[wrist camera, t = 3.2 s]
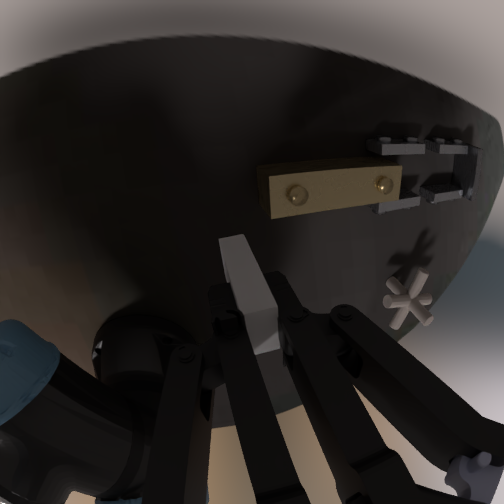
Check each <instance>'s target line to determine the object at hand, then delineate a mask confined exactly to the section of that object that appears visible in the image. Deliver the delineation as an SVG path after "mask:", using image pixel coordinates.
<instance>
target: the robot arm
mask: <svg viewBox="0 0 504 504" xmlns="http://www.w3.org/2000/svg"><path fill="white" fill-rule="evenodd" d="M219 245H220V250H221V256H222V261H223V267H224V272H225V277H226V281H227V283H224V284H219V285H215V286H211V287H210V290H209V292H208V297H209V302H210V307H211V313H212V326H213V330H214V334H213V336H212V337H211V338H210V339H209V340H208V341H207V342H205V343H204V344H202V345H200V346H197V345H196V342H195V341H194V339H193V338H192V337H191V335H190V334H189V333H188V332H187V331H185V330H184V329H183V328H181V327H180V326H178V325H176V324H174V323H172V322H170V321H167V320H164V319H161V318H157V317H152V316H143V315H133V316H125V317H121V318H117V319H114V320H112V321H110V322H108V323H107V324H105V325H104V326H103V327H102V328H101V329H100V330H99V331H98V332H97V334H96V336H95V339H94V344H93V349H92V362H93V367H94V372H95V376H96V378H95V377H93V376H92V375H90V374H89V373H87V372H86V371H85V370H83V369H82V368H80V367H79V366H78V365H76V364H75V363H74V362H72V361H71V360H70V359H68V358H67V357H66V356H64V355H63V354H62V353H60V351H59V350H58V348H57V347H56V346H55V345H54V344H53V343H51V342H47V341H45V340H44V339H42V338H41V337H40V336H39V335H37V334H36V333H35V332H34V331H32V330H31V329H30V328H29V327H27V326H26V325H25V324H23V323H22V322H20V321H17V320H13V319H10V320H4V321H2V322H0V504H65V502H66V500H67V498H68V496H69V494H70V493H71V492H72V491H77V492H80V493H83V494H86V495H90V496H93V497H96V499H95V504H208V502H209V494H208V485H207V480H208V466H209V453H210V441H211V429H212V418H213V407H214V396H215V388H216V387H218V386H220V385H222V384H224V383H226V388H227V392H228V396H229V400H230V405H231V409H232V413H233V417H234V421H235V425H236V429H237V432H238V436H239V440H240V444H241V448H242V451H243V455H244V459H245V462H246V466H247V469H248V473H249V477H250V480H251V483H252V487H253V490H254V494H255V498H256V503H257V504H311V503H310V501H309V498H308V496H307V494H306V492H305V490H304V488H303V486H302V485H301V483H300V481H299V478H298V475H297V473H296V470H295V467H294V465H293V462H292V460H291V457H290V454H289V451H288V449H287V446H286V443H285V441H284V438H283V435H282V432H281V429H280V426H279V424H278V421H277V418H276V415H275V412H274V409H273V407H272V404H271V401H270V398H269V395H268V392H267V389H266V386H265V383H264V380H263V377H262V374H261V372H260V369H259V366H258V363H257V360H256V357H255V355H256V354H260V353H264V352H268V351H272V350H276V349H279V348H280V344H281V346H282V349H283V365H284V366H286V365H287V367H288V370H289V372H290V374H291V377H292V379H293V382H294V384H295V386H296V389H297V391H298V394H299V396H300V398H301V401H302V403H303V406H304V408H305V410H306V413H307V415H308V418H309V420H310V422H311V425H312V427H313V429H314V432H315V434H316V436H317V439H318V441H319V443H320V446H321V448H322V451H323V453H324V455H325V458H326V460H327V462H328V464H329V467H330V469H331V471H332V474H333V476H334V479H335V482H336V489H337V492H338V495H339V497H340V500H341V502H342V504H490V503H491V501H492V499H493V496H494V494H495V491H496V489H497V486H498V484H499V481H500V478H501V475H502V472H503V470H504V424H501V423H498V422H495V421H493V420H490V419H487V418H485V417H482V416H481V415H480V414H479V413H478V412H477V411H475V410H474V409H473V408H472V407H471V406H470V405H469V404H468V403H467V402H466V401H464V400H463V399H462V398H461V397H460V396H459V395H458V394H457V393H455V392H454V391H453V390H452V389H451V388H450V387H449V386H447V385H446V384H445V383H444V382H443V381H442V380H440V379H439V378H438V377H437V376H436V375H435V374H434V373H432V372H431V371H430V370H429V369H428V368H427V367H425V366H424V365H423V364H422V363H421V362H420V361H418V360H417V359H416V358H415V357H414V356H412V354H410V353H409V352H408V351H407V350H406V349H404V348H403V347H402V346H401V345H400V344H398V343H397V342H396V341H395V340H394V339H393V338H391V337H390V336H389V335H388V334H387V333H385V332H384V331H383V330H382V329H381V328H379V327H378V326H377V325H376V324H375V323H373V322H372V321H371V320H370V319H369V318H367V317H366V316H365V315H364V314H363V313H361V312H360V311H359V310H358V309H357V308H355V307H353V306H351V305H347V304H341V305H338V306H335V307H334V308H333V309H332V310H331V312H330V314H315V313H311V312H310V311H309V310H308V309H307V308H305V307H303V306H302V305H301V303H300V301H299V300H298V298H297V296H296V294H295V293H294V291H293V289H292V288H291V286H290V284H289V283H288V281H287V279H286V277H285V275H283V274H282V273H280V272H279V271H275V272H270V273H266V274H262V272H261V270H260V268H259V266H258V263H257V261H256V259H255V257H254V255H253V253H252V251H251V249H250V247H249V244H248V242H247V240H246V238H245V236H244V234H240V235H235V236H230V237H225V238H221V239H219ZM353 385H354V386H355V387H356V388H357V389H358V390H359V391H360V392H361V393H362V394H363V396H364V397H365V398H367V400H368V401H369V402H370V403H371V404H372V405H373V406H374V407H375V408H376V409H377V410H378V411H379V412H380V413H381V414H382V415H383V416H384V417H385V418H386V419H387V420H388V421H389V422H390V423H391V424H392V425H393V426H394V427H395V428H396V429H397V430H398V431H399V432H400V433H401V434H402V435H403V436H404V437H405V438H406V439H407V440H408V441H409V442H410V443H411V444H412V445H413V446H414V447H415V448H416V449H417V450H418V451H419V452H420V453H421V454H422V455H423V456H424V457H425V458H426V459H427V460H428V461H429V462H430V463H432V464H433V465H435V466H436V467H438V468H439V469H441V470H443V471H445V472H447V475H446V477H445V483H446V485H449V486H451V487H452V488H454V489H455V490H456V492H457V495H458V496H454V495H450V494H446V493H443V492H440V491H436V490H433V489H430V488H427V487H424V486H421V485H418V484H415V482H414V480H413V478H412V476H411V475H410V473H409V471H408V469H407V467H406V465H405V463H404V462H403V460H402V458H401V457H400V455H399V454H398V453H397V452H396V451H394V450H392V449H389V448H388V447H387V446H386V444H385V442H384V441H383V439H382V437H381V435H380V433H379V432H378V430H377V428H376V426H375V424H374V422H373V421H372V419H371V417H370V415H369V413H368V411H367V410H366V408H365V406H364V404H363V402H362V401H361V399H360V397H359V395H358V393H357V392H356V390H355V388H354V386H353Z"/></svg>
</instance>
